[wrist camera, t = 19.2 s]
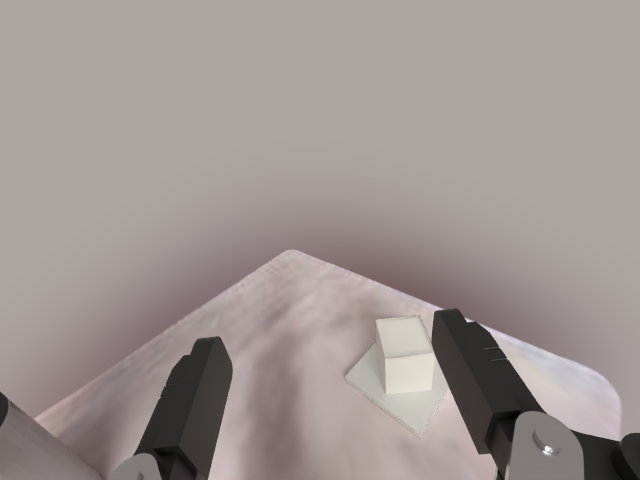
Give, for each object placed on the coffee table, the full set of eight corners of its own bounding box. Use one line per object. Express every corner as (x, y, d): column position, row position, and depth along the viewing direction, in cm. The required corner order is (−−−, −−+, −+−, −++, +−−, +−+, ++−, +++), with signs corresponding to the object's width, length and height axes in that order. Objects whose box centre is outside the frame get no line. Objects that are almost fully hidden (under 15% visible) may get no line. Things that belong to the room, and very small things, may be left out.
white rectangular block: (385, 394, 40) (385, 357, 36) (377, 355, 45) (375, 319, 41) (431, 389, 40) (435, 352, 35) (416, 351, 45) (419, 314, 41)
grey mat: (345, 380, 43) (344, 376, 43) (389, 330, 50) (389, 326, 50) (420, 438, 36) (420, 434, 35) (460, 369, 42) (460, 365, 42)
